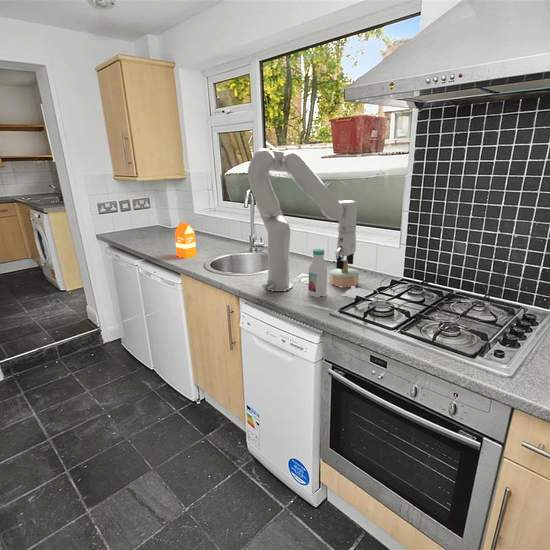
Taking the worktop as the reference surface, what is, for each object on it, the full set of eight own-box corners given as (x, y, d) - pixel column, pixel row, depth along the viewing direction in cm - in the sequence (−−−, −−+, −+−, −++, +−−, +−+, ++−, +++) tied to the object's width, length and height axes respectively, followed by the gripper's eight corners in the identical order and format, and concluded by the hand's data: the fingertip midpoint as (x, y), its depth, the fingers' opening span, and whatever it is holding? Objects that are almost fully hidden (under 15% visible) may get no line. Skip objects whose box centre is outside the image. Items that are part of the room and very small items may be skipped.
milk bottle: (324, 291, 158) (326, 247, 152) (327, 298, 151) (329, 252, 145) (307, 292, 158) (308, 247, 152) (309, 298, 151) (310, 252, 144)
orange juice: (186, 258, 211) (183, 224, 205) (176, 256, 216) (173, 223, 210) (196, 256, 217) (194, 223, 211) (187, 253, 222) (184, 221, 216)
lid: (351, 279, 156) (351, 265, 155) (325, 275, 164) (324, 261, 162) (363, 272, 166) (364, 258, 165) (338, 268, 174) (338, 255, 172)
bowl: (350, 289, 159) (350, 278, 157) (326, 285, 166) (326, 274, 164) (361, 282, 168) (361, 272, 166) (338, 278, 175) (338, 268, 174)
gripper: (345, 233, 150) (343, 272, 156) (363, 227, 163) (360, 263, 169) (329, 231, 154) (328, 269, 160) (348, 225, 168) (345, 260, 173)
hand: (344, 266), depth 164 cm, fingers open, 9 cm apart
